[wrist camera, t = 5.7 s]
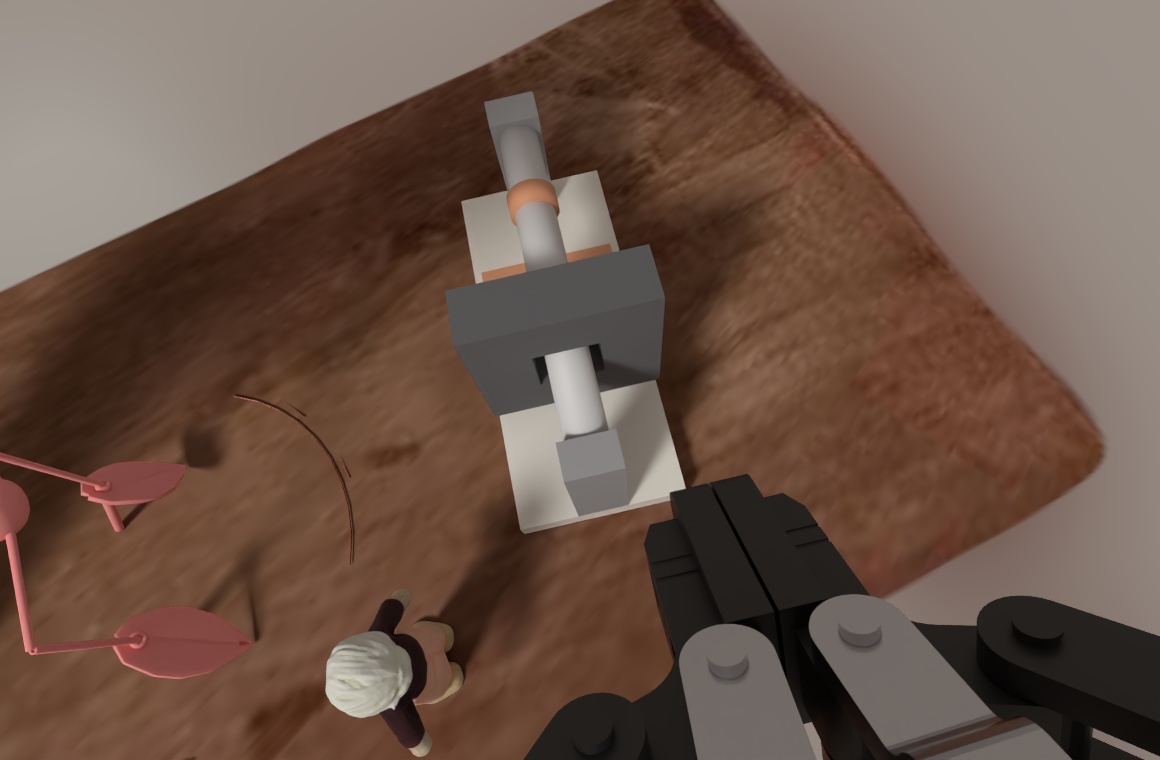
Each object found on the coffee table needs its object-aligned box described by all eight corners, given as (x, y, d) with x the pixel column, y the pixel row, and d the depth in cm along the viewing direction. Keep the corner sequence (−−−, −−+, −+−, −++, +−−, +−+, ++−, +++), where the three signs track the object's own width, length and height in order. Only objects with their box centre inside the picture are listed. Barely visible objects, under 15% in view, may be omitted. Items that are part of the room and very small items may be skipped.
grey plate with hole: (495, 416, 41) (453, 346, 32) (487, 371, 42) (444, 291, 33) (659, 378, 41) (665, 297, 32) (647, 334, 42) (649, 244, 33)
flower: (170, 824, 37) (-2740, 1828, 5) (80, 426, 47) (-1122, -107, 15) (429, 683, 39) (-471, 757, 7) (293, 329, 49) (-355, -332, 17)
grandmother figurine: (382, 621, 40) (278, 606, 29) (442, 591, 41) (363, 564, 29) (429, 755, 38) (334, 799, 26) (493, 721, 38) (428, 749, 26)
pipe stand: (524, 534, 42) (491, 499, 32) (466, 213, 51) (427, 115, 42) (685, 496, 42) (698, 451, 32) (598, 183, 51) (588, 78, 42)
